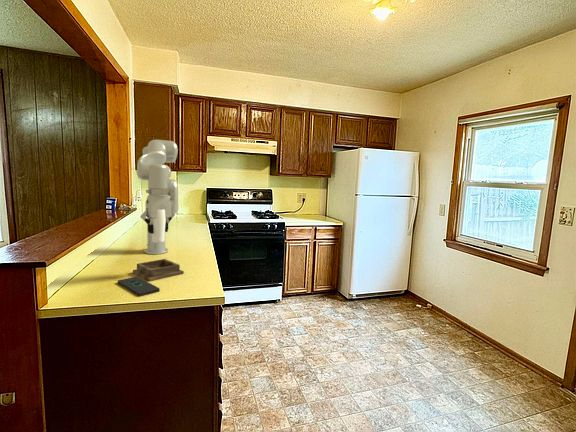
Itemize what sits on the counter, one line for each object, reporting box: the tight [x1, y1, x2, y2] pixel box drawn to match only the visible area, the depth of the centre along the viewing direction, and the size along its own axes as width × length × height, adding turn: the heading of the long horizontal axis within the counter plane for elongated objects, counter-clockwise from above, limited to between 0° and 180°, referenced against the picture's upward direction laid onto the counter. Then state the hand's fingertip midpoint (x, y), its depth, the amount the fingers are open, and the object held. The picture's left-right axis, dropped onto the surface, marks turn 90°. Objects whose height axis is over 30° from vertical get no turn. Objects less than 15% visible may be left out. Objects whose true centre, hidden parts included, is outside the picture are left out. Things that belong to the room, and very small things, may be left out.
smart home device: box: [117, 276, 161, 297], centre depth 123 cm, size 8×2×20 cm
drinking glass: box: [151, 210, 166, 243], centre depth 138 cm, size 7×7×15 cm
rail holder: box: [132, 258, 185, 282], centre depth 141 cm, size 16×16×4 cm
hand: (158, 231), depth 138 cm, fingers closed on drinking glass, 6 cm apart
